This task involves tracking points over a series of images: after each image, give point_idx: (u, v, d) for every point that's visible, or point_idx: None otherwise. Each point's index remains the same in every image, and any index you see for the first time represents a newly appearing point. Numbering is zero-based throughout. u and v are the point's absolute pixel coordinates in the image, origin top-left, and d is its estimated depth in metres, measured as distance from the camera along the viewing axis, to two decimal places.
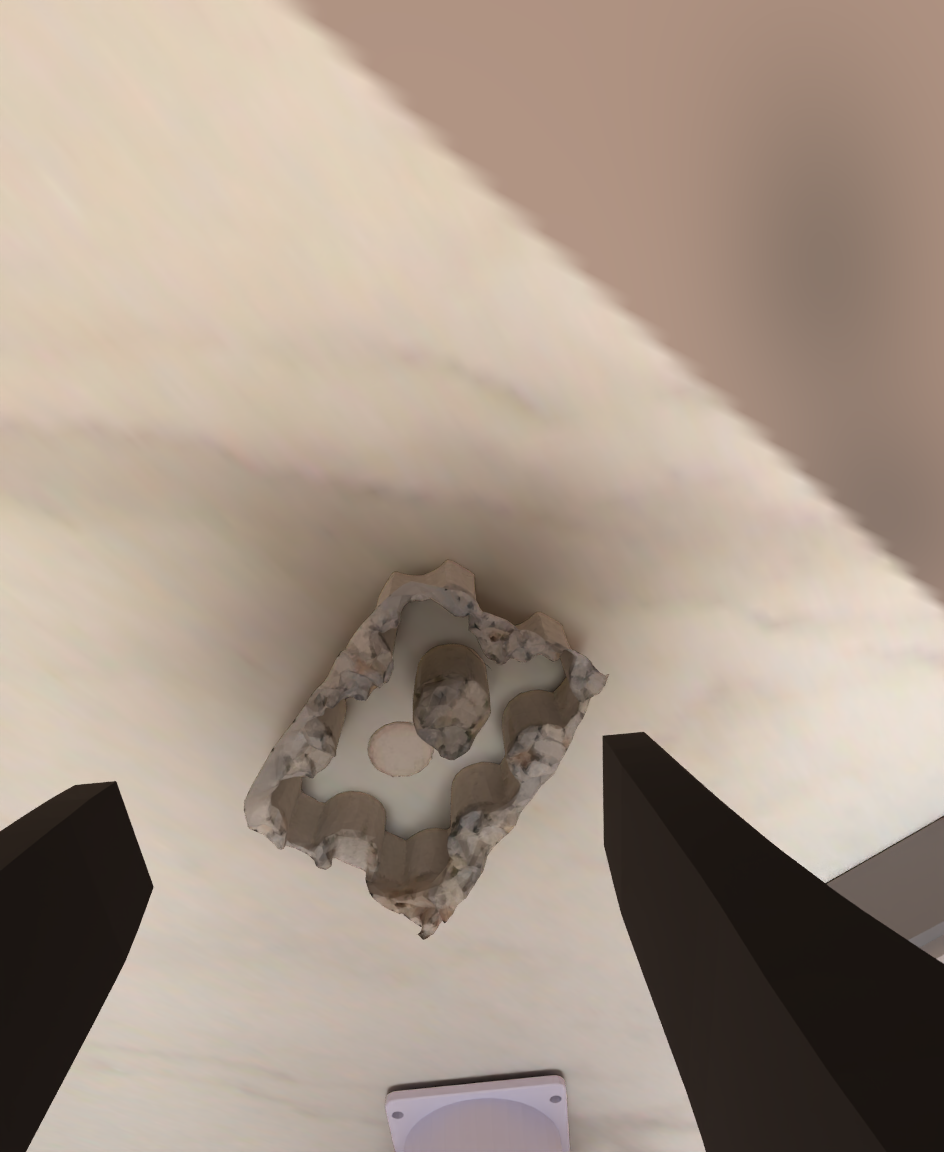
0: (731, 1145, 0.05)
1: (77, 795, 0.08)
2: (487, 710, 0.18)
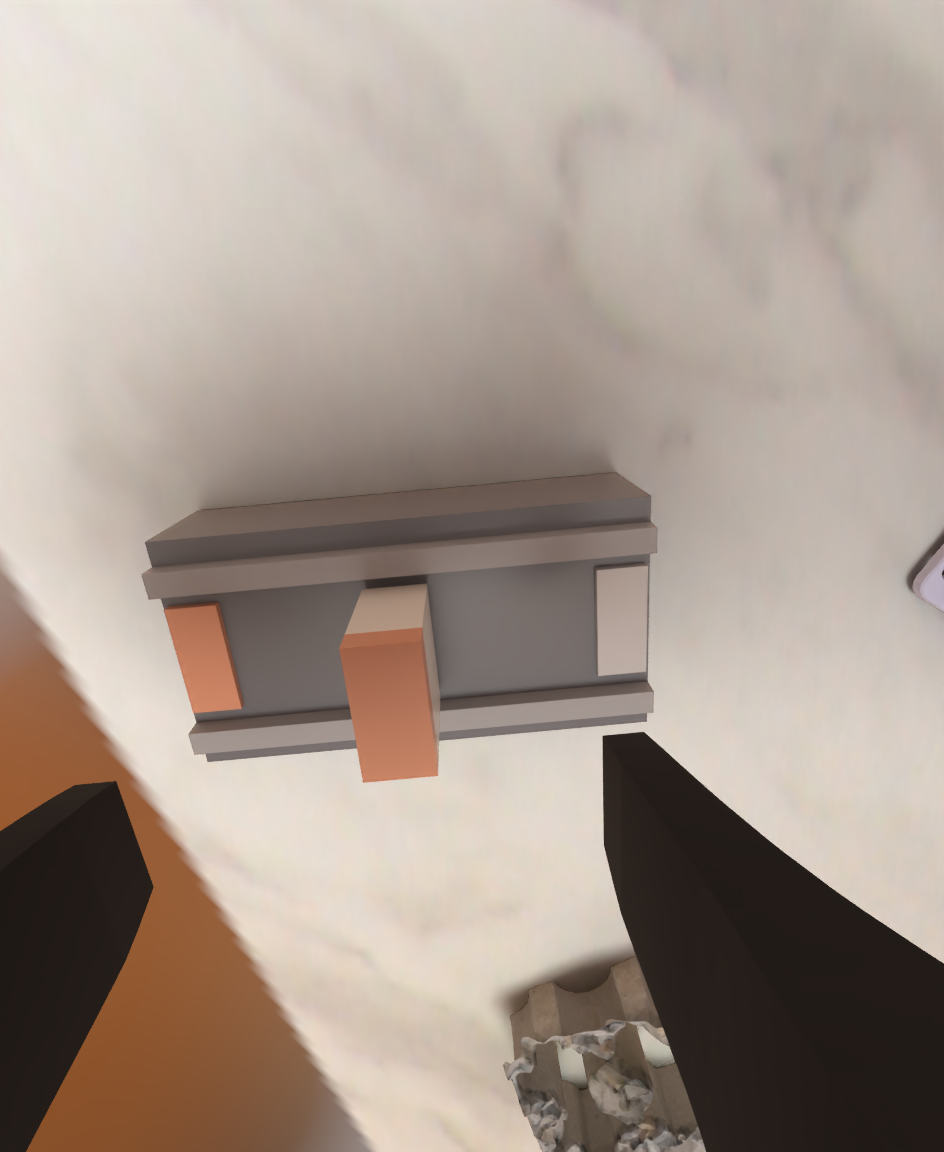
0: (731, 1145, 0.05)
1: (77, 795, 0.08)
2: (598, 1076, 0.22)
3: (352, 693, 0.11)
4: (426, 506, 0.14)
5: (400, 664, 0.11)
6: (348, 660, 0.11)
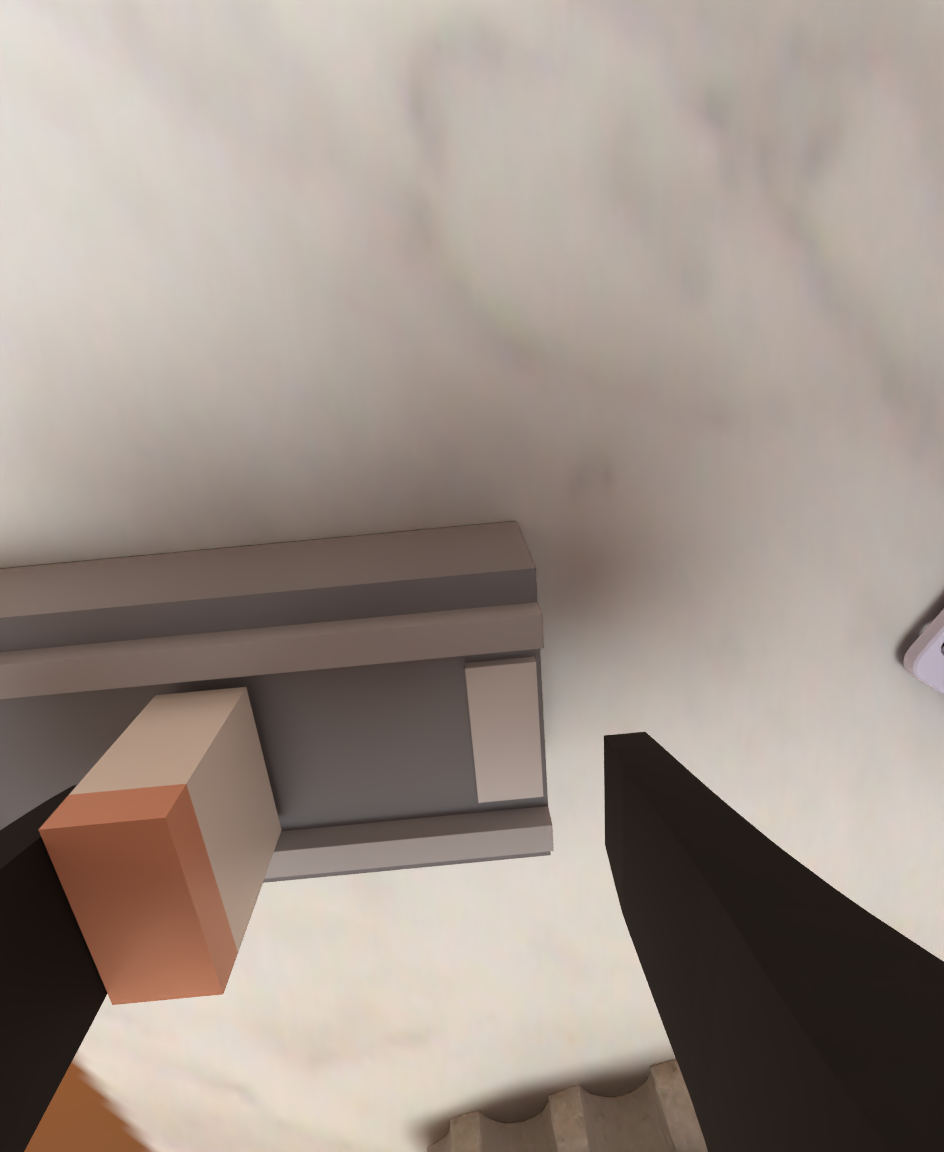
0: (733, 1145, 0.05)
1: None
2: None
3: (72, 890, 0.07)
4: (238, 576, 0.11)
5: (138, 849, 0.07)
6: (56, 845, 0.07)
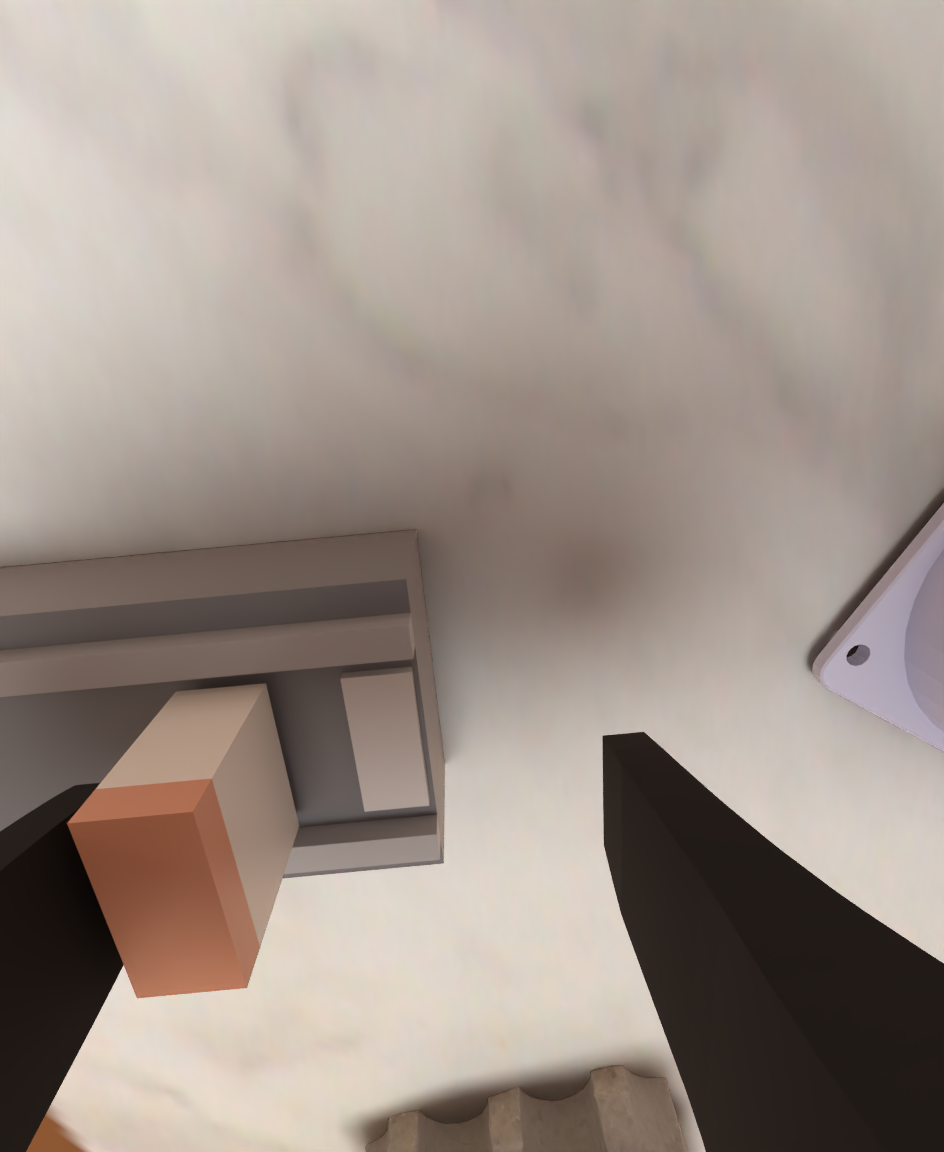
0: (731, 1145, 0.05)
1: (77, 795, 0.08)
2: None
3: (100, 883, 0.07)
4: (121, 586, 0.11)
5: (165, 843, 0.07)
6: (84, 839, 0.07)
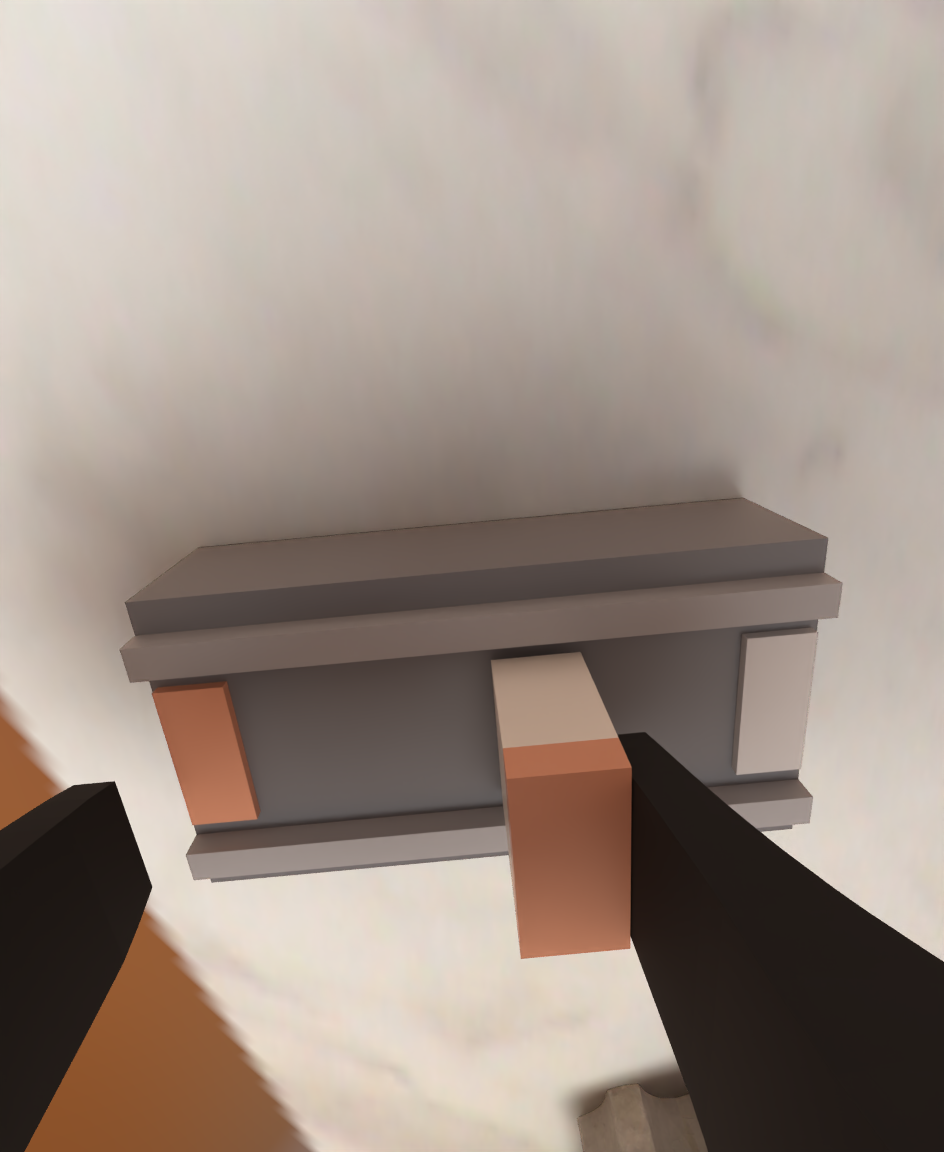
0: (733, 1145, 0.05)
1: (76, 795, 0.08)
2: None
3: (519, 840, 0.07)
4: (508, 548, 0.11)
5: (596, 799, 0.07)
6: (518, 795, 0.07)
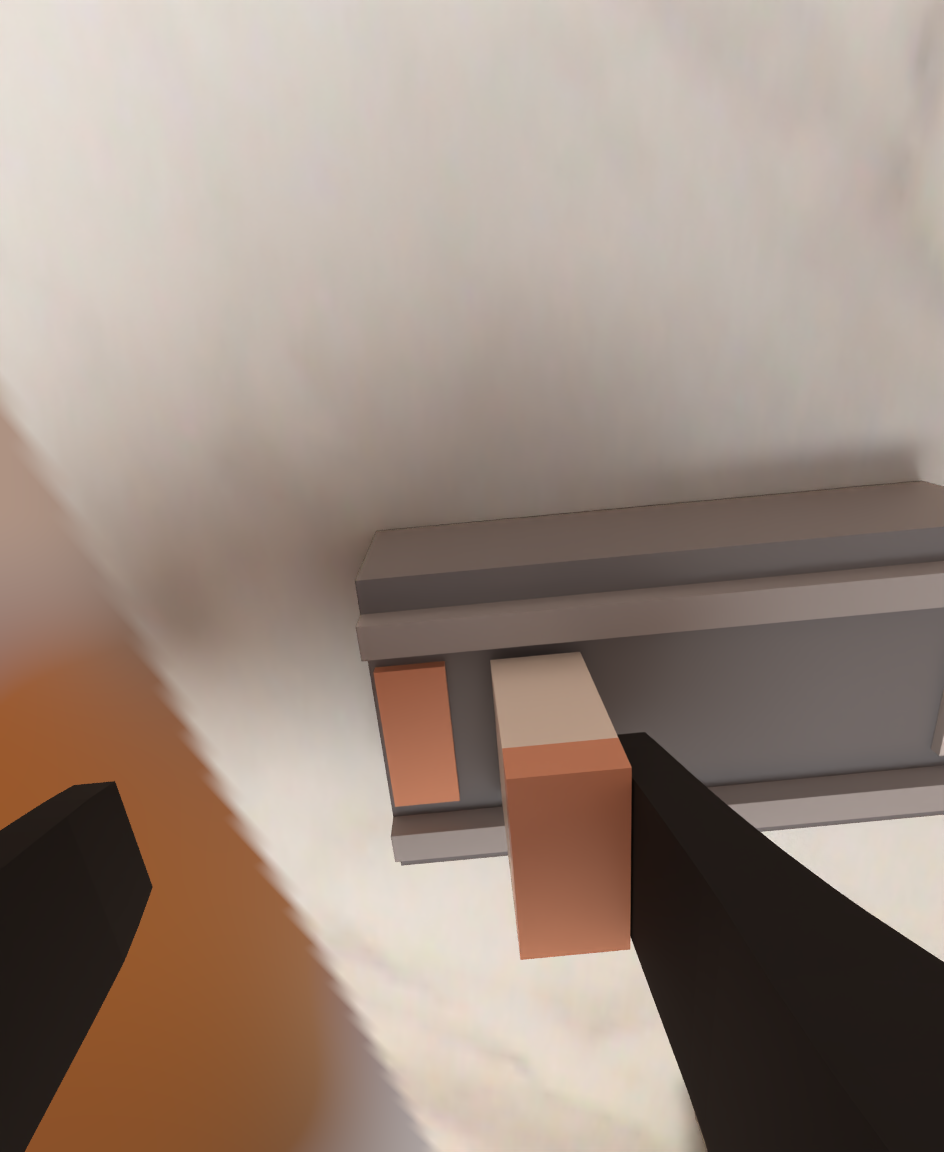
0: (733, 1145, 0.05)
1: (76, 795, 0.08)
2: None
3: (520, 841, 0.07)
4: (719, 528, 0.11)
5: (596, 800, 0.07)
6: (518, 795, 0.07)
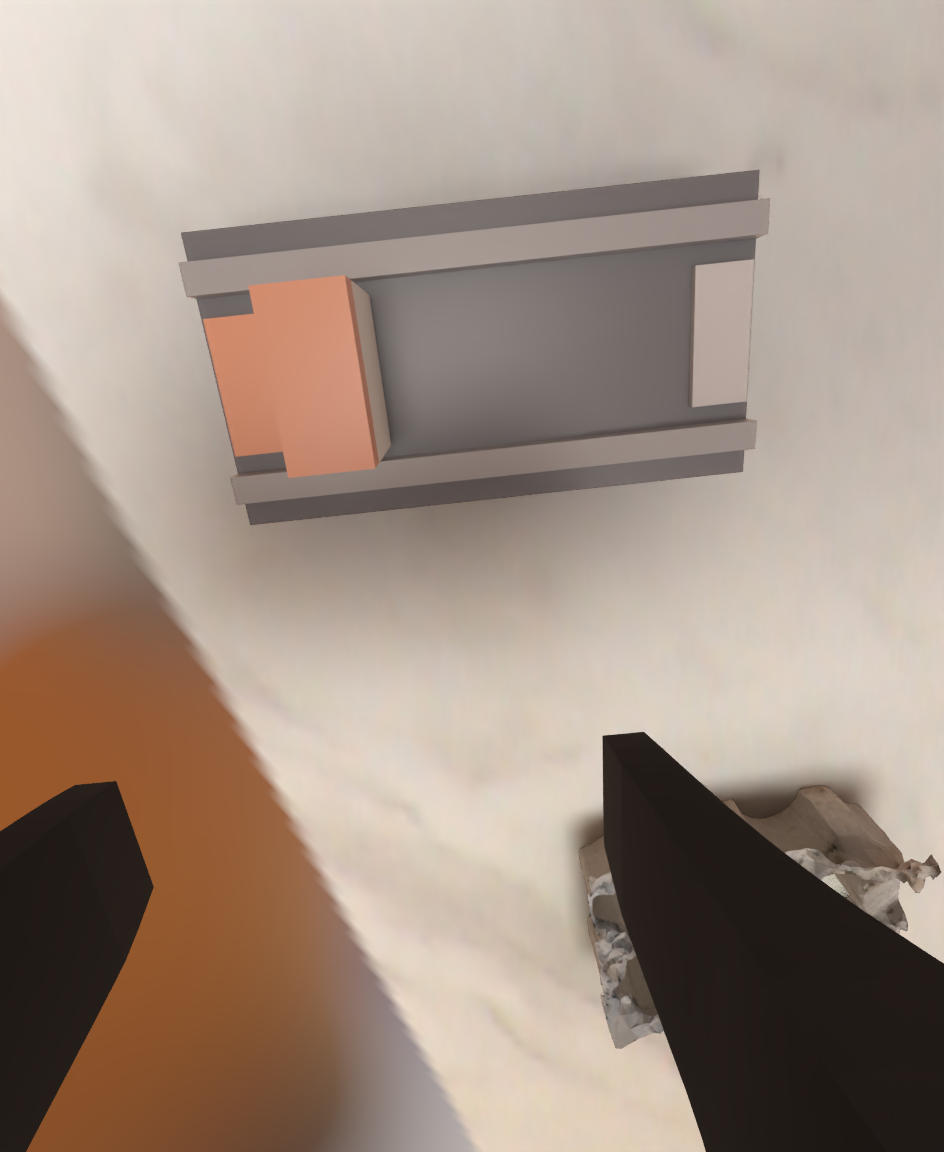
0: (731, 1145, 0.05)
1: (77, 795, 0.08)
2: None
3: (268, 350, 0.10)
4: None
5: (322, 308, 0.09)
6: (260, 302, 0.09)
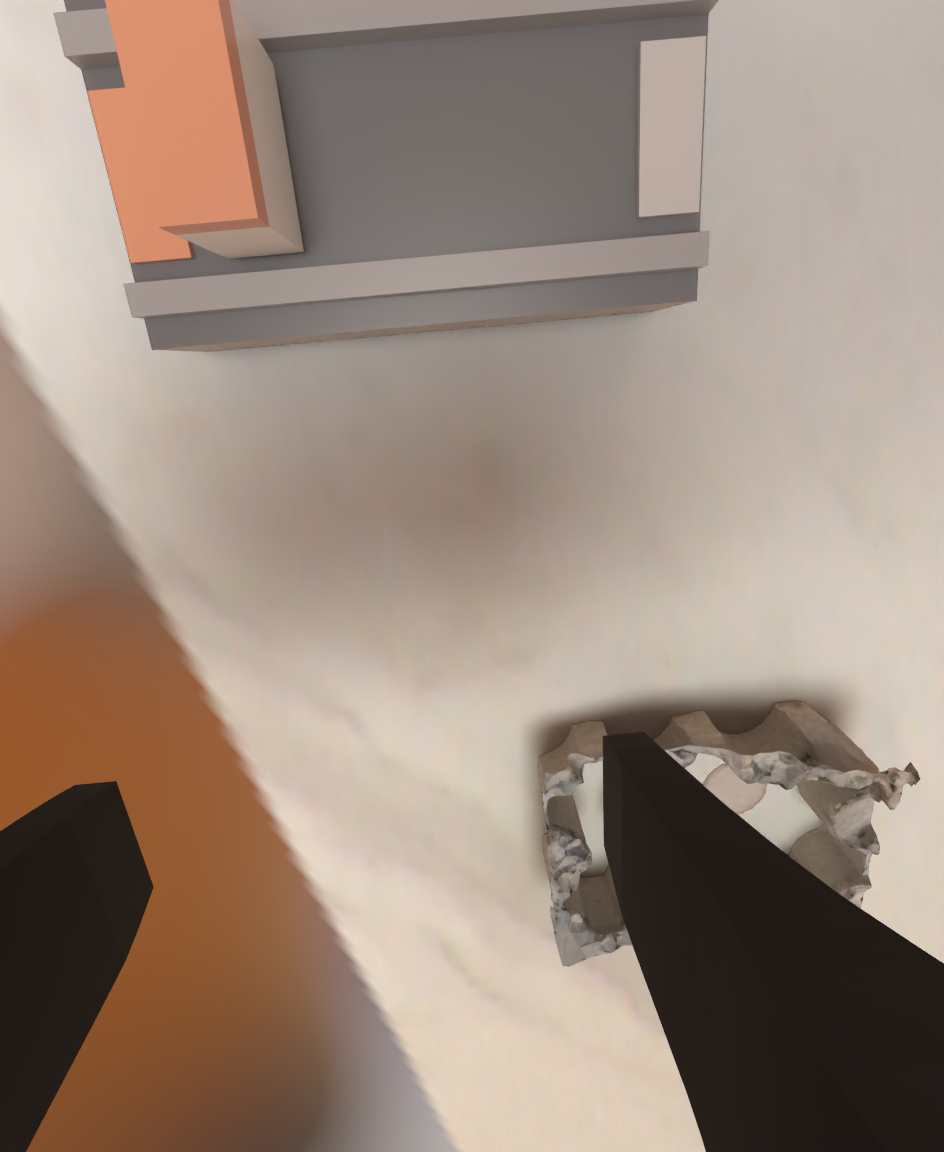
0: (731, 1145, 0.05)
1: (77, 795, 0.08)
2: None
3: (126, 58, 0.08)
4: None
5: (186, 3, 0.08)
6: None
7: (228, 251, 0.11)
